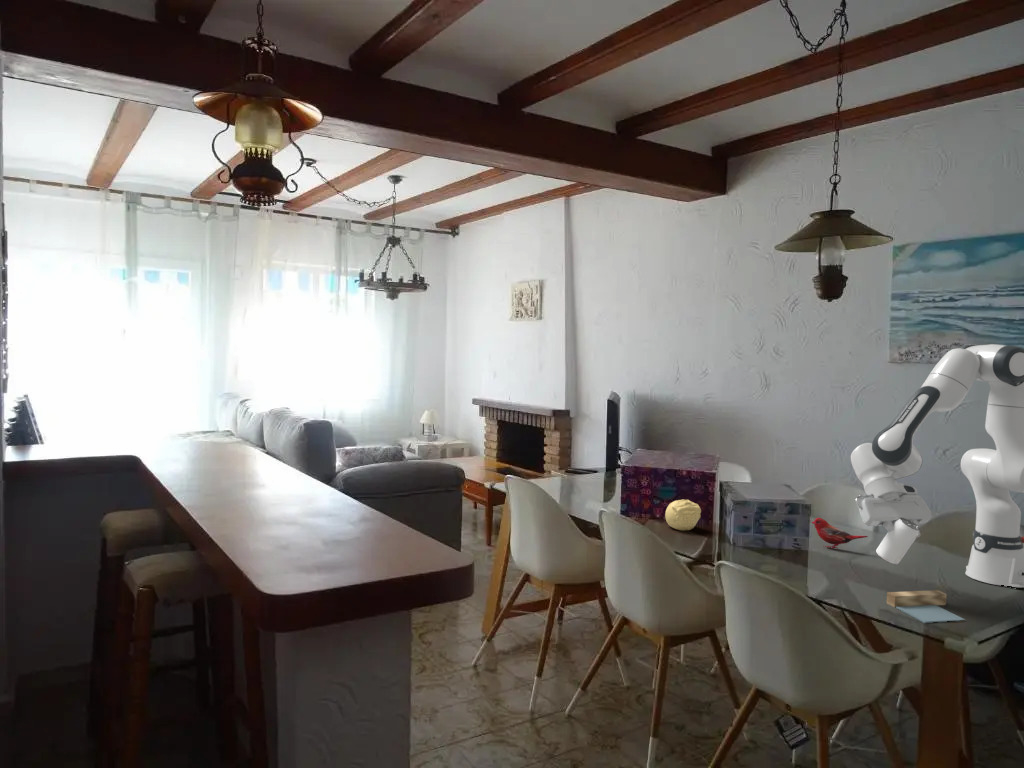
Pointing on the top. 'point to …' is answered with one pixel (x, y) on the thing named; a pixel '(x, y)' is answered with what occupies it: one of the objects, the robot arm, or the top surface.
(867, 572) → the top surface
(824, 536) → the decorative bird figurine
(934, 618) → the felt mat
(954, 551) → the top surface
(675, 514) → the pale yellow round lump
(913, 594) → the oak rail
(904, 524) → the can
